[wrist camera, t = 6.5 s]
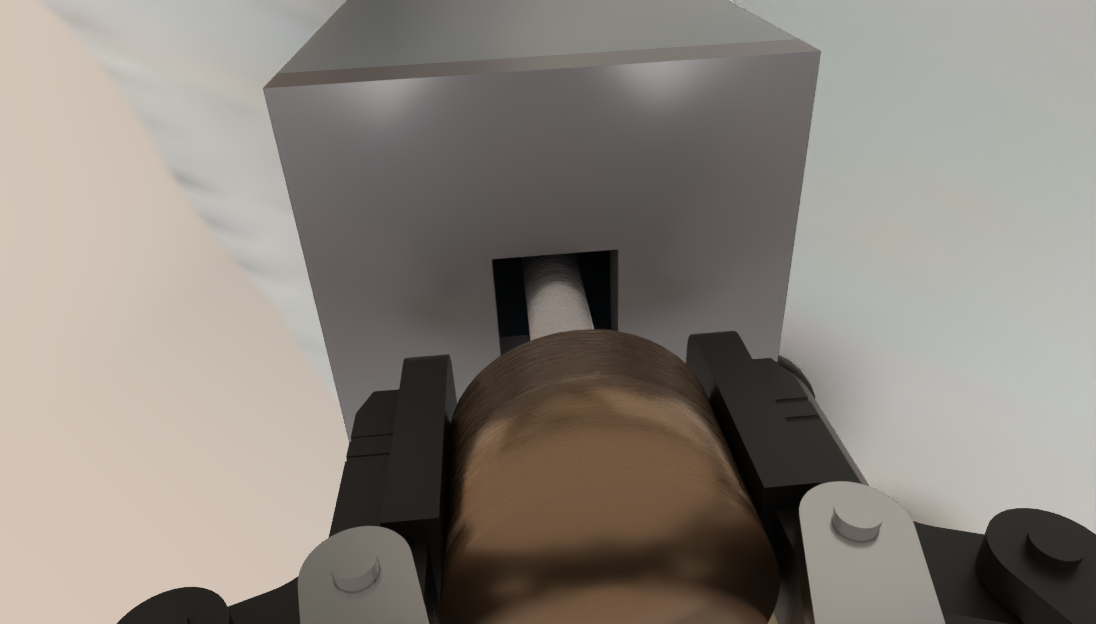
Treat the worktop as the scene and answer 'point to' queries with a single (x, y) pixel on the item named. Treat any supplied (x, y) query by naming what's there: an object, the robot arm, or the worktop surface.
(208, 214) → the worktop surface
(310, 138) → the block
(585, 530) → the plunger
